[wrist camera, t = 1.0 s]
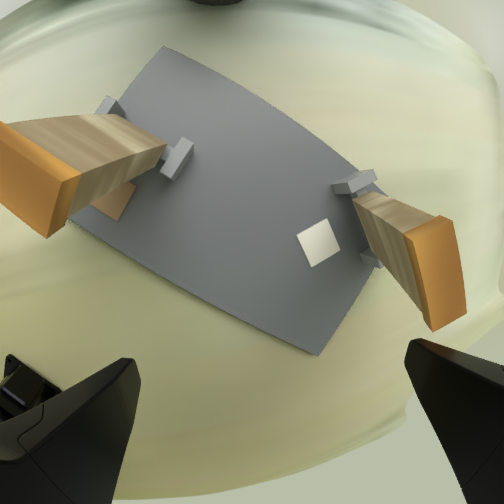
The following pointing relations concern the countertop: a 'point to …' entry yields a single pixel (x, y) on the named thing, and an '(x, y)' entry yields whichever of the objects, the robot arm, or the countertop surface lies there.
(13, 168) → the lever
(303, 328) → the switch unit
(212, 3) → the coffee cup
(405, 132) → the countertop surface
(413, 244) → the lever
